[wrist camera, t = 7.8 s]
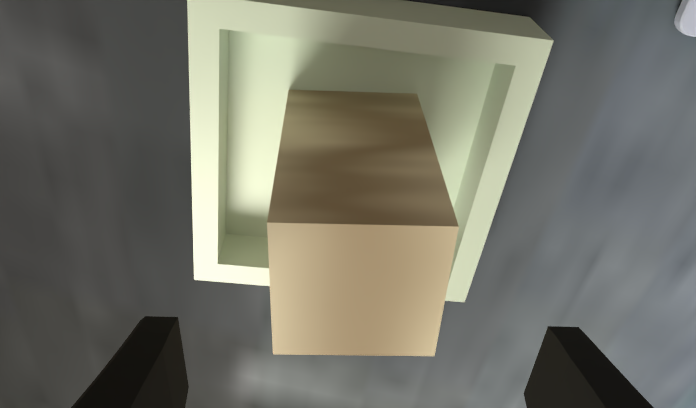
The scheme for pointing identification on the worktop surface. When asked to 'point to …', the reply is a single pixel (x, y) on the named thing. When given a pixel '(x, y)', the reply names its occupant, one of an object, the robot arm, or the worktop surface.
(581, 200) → the worktop surface
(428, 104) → the tray
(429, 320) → the block
